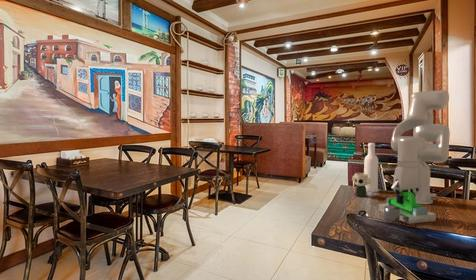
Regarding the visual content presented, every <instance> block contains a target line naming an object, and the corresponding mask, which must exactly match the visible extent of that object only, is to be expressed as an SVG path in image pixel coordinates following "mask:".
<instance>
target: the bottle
mask: <svg viewBox="0 0 476 280" xmlns="http://www.w3.org/2000/svg"><path fill="white" fill-rule="evenodd" d="M367 149H368V150H367V153H368V154H367V155H365V156H364V159H363V160H364V162H363V163H364V165H363V167H364V168H363V173H365V174H368V178H369V179H370V184H367V185H366V186H365V187H366V191H367V193H377V192H378V191H379V158H378V156H377V155H376V153H375V152H376V150H375V149H376V143H375V142H368V144H367Z"/></svg>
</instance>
